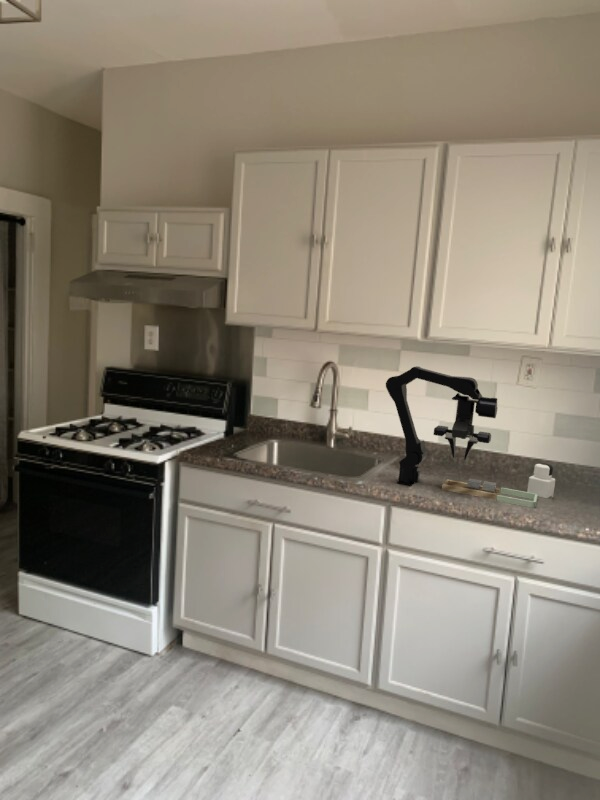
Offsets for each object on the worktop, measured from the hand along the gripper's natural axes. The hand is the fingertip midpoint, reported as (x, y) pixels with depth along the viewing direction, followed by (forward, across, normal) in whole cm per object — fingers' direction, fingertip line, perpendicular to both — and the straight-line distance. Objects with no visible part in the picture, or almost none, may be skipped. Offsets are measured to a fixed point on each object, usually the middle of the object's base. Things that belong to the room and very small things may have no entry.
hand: (459, 458), depth 218 cm
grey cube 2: (+11, +6, 0) cm, 12 cm away
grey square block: (+11, +11, 0) cm, 15 cm away
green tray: (+12, +20, 0) cm, 24 cm away
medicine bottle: (+12, +27, +14) cm, 33 cm away
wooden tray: (+12, +5, 0) cm, 13 cm away
